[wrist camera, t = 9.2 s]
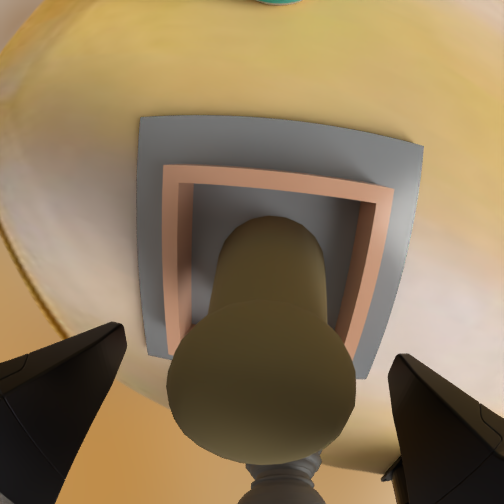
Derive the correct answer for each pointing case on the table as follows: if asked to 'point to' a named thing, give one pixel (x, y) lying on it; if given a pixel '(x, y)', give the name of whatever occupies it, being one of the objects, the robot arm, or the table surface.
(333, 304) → the shaker socket
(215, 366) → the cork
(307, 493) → the candle holder
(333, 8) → the table surface
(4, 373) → the robot arm
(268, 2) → the beverage can
